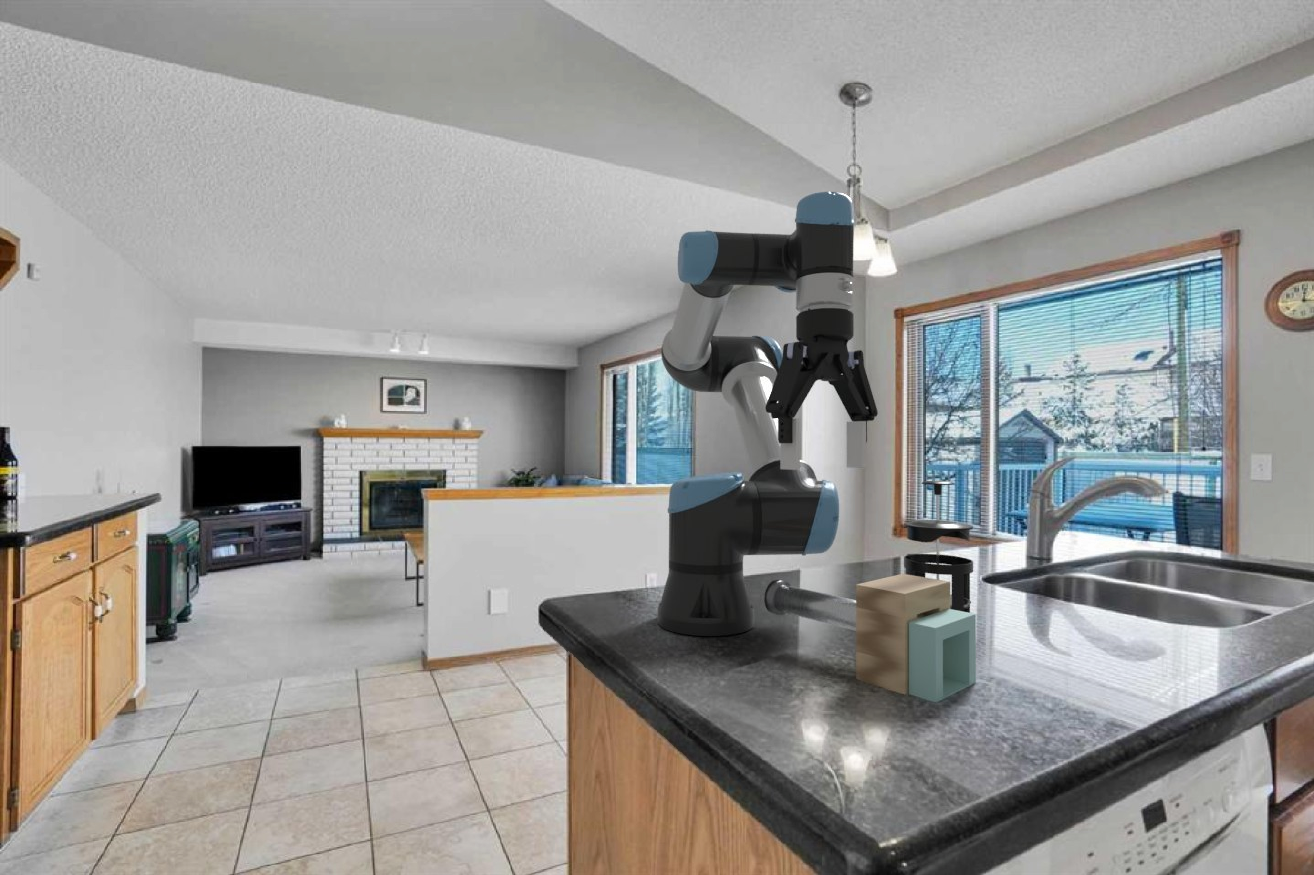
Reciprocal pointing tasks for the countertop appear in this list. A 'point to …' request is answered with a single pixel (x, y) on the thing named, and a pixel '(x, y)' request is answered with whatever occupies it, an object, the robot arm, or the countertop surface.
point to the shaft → (811, 605)
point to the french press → (957, 565)
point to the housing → (892, 625)
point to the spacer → (942, 654)
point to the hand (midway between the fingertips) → (824, 468)
